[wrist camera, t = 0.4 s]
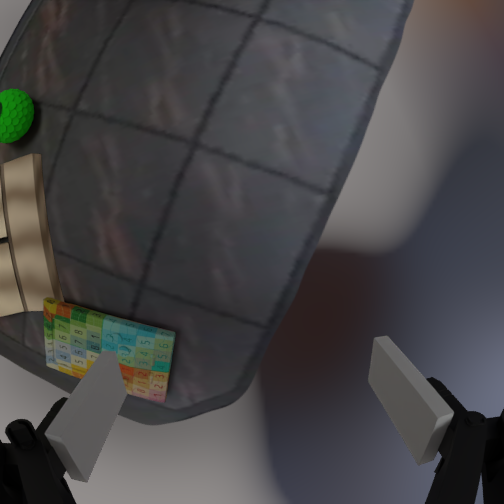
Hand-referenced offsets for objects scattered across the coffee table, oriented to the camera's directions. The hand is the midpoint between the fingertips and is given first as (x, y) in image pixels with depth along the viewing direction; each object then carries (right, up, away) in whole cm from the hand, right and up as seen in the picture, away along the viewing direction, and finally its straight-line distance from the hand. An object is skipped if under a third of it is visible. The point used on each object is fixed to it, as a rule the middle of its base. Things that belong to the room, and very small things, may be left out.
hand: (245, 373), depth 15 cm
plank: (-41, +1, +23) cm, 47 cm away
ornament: (-35, +26, +21) cm, 48 cm away
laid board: (-33, +9, +25) cm, 42 cm away
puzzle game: (-21, -8, +29) cm, 36 cm away
